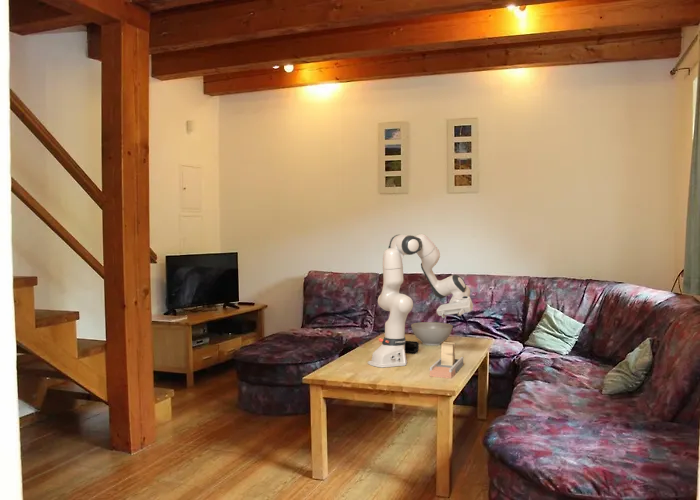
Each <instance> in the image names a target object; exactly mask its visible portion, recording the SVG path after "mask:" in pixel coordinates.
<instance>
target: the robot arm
mask: <svg viewBox="0 0 700 500" xmlns="http://www.w3.org/2000/svg"><path fill="white" fill-rule="evenodd" d="M415 254H417V255H418V257H419V259H420V260H421V263H420V267H421V270H422V272H423V274H424V276H425V278H426V280H427V282H428V283H429V286H430V287H431V290H432V292H433V295H434V296H435V297H436V298H439V299H444V298H446V297H448V296H450V295H452V296H451V298H450V299H449V302H448V303H443V304H440V305H439V306H438V308H437V309H436V314H437V315H438V316H439V317H440V316H441V318H442V319H445V318H446V316H448V315H457V316H458V317H461V316H462V315H464V314H465V313H471V312H472V311H473V307H474V304H473V301H472V298H471V297H470V295H471V289H470V287H469V285H467V284H466V282H465V280H464V279H463V278H462V277H461V276H459V275H457V274H452V275H450V276H448V277H446V278H443V279H441V280H439V279H438V278H437V276H436V274H435V273H434V271H433V268H434V267H435V266H436V265H437V263H438V262H439V260H440V257H441V253H440V250H439V249H438V247H437V246H436V244H435V243H434V242H433V241H432V240H431V239H430V238H429V237H428V236H427V235H426V234H424V233H419V234H416V235H411V234H410V235H409V234H405V233H404V234H396V235H394V236H392V237H391V238H390V241H389V245H388V248H387V249H385V250H384V251H383V255H382V276H383V277H382V278H383V282H382V284H383V285H382V290H381V293H380V295H379V296H378V298H377V304H378V306H379V307H380V308H381V309H383V310H384V311H387V312H389V316H388V319H387V320H386V321H385V322H384V337H383V338H381V337H379V338H378V342H380V343H381V345H380V346H378V347H377V348H376V349H375V350H374V351H373V352H372V354H371V355H372V356H371V360H368V361H367V364H368V365H370V366H371V367H377V368H390V367H402V366H403V367H404V366H407V364H408V361H407V353H405V341H406V336H405V335H406V333H405V332H406V331H405V330H406V321H407V318H408V315H409V313H411V311H412V310H413V307H414V302H413V299H412V298H411V297H410V296H408V295H407V294H404V293H400V290H401V289H400V288H401V285H402V284H404V267H403V265H404V264H403V258H404V256H405V255H406V256H407V255H408V256H409V255H415Z"/></svg>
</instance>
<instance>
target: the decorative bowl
mask: <svg viewBox="0 0 700 500" xmlns="http://www.w3.org/2000/svg"><path fill="white" fill-rule="evenodd" d="M410 327H411V330H412V332H413V334H414V336H415V338H416V339H417V340H419V341H420V342H421V343H422V344H423V345H425V346H440V344H442V343H443V342H446V340H447V339H448V338H449V336H450V335H451V333H452V330H453V327H454V326H453V325H452V324H451V323H445V322H435V321H426V322H425V321H423V322H421V321H420V322H414V323H411V326H410Z"/></svg>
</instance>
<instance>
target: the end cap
mask: <svg viewBox="0 0 700 500" xmlns="http://www.w3.org/2000/svg"><path fill="white" fill-rule="evenodd" d="M419 348H420V345H419V341H414V340H413V341H412V340H405V354H409V355H410V354H411V355H412V354H413V355H415V354H417V353H418V351H419Z"/></svg>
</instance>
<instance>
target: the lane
mask: <svg viewBox="0 0 700 500" xmlns="http://www.w3.org/2000/svg"><path fill="white" fill-rule="evenodd" d="M463 366H464V356H461V357H460V358H455V364H454V365H453V366H450V365H441V357H439V359H438V360H436V361H435V362H434V363H433V364H432V365H431V366H429V377H431V378H432V377H435V378H442V379H445V378H447V379H452V378H453V377H454V376H455V375H456V374H457V373H458V372H459V370H461V368H462V367H463Z"/></svg>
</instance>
